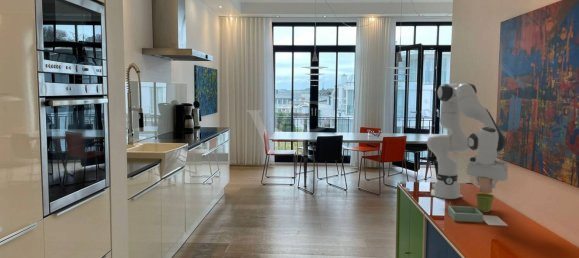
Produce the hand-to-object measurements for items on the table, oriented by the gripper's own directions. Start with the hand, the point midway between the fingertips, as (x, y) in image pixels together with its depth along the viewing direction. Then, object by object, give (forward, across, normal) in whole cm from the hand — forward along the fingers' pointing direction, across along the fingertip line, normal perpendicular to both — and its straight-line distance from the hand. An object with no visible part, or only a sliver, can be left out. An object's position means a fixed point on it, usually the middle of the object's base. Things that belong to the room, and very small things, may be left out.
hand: (486, 186), depth 214 cm
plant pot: (+18, +9, -16) cm, 25 cm away
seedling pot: (+3, 0, 0) cm, 3 cm away
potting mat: (+18, -3, -3) cm, 18 cm away
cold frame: (+18, +8, +5) cm, 20 cm away
